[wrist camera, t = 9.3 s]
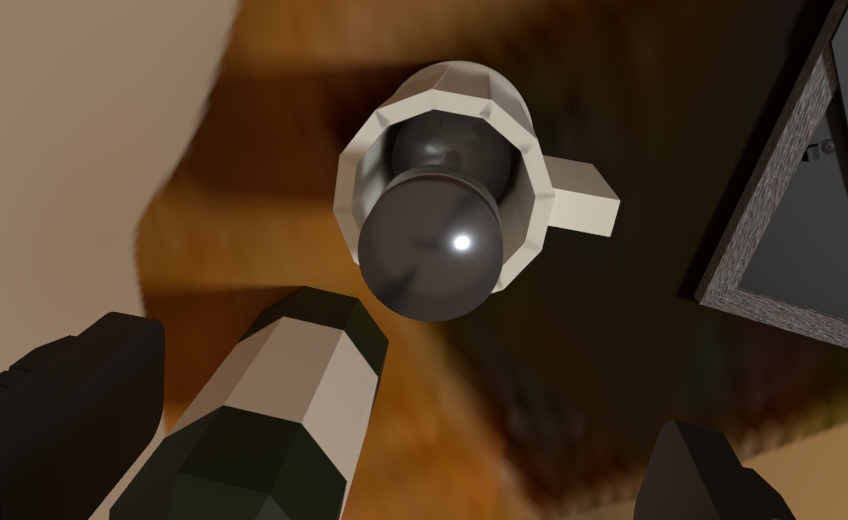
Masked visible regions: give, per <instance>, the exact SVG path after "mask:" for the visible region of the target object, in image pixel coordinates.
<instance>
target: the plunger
mask: <svg viewBox="0 0 848 520" xmlns="http://www.w3.org/2000/svg"><path fill="white" fill-rule="evenodd" d="M511 159H512V157H511V149H510V144H509V140H508V139H507V138H505V137H504V136H503V135H502V134H501V133H500V132H498V131H497V130H496V129H495V128H494V127H493V126H492V125H490V124H489V123H488V122H487V121H486V120H485V119H484V118H479V117H474V116H468V115H463V114H457V113H452V112H446V111H441V110H436V109H432V110H430V111H427V112H424V113H422V114H419V115H416V116H413V117H411V118H408V120H407V121H406V122H405V123H404V125H403V126H402V128H401V129H400V131H399V133H398V135H397V137H396V140H395V143H394V147H393V153H392V167H393V172H394V176H395V179H393V180H392V181H391V182H390V183H389V184H388V185H387V186H386V187H385V189H384V190H383V192H382V193H381V195H380V196H379V198H378V200H377V201H376V203H375V205H374V206H373V208H372V210H371V211H370V213H369V215H368V216H367V218H366V220H365V222H364V224H363V226H362V229H361V232H360V236H359V240H358V261H359V266H360V270H361V273H362V276H363V278H364V280H365V282H366V284H367V286H368V287H369V289H370V290H371V292H372V293H373V294H374V295H375V296H376V298H377V299H378V300H379V301H381V302H382V303H383V304H384V305H385V306H387V307H388V308H389V309H391V310H392V311H394V312H396V313H398V314H400V315H402V316H405V317H407V318H411V319H415V320H419V321H427V322H438V321H446V320H450V319H455V318H457V317H460V316H463V315H465V314H467V313H469V312H470V311H472V310H473V309H475V308H476V307H478V306H479V305H480V304H481V303H482V302H483V301H485V300H486V298H487V297H488V296H489V295H490V294H491V292H492V291H493V289H494V287H495V286H496V284H497V282H498V279H499V277H500V274H501V271H502V266H503V240H502V229H501V219H500V214H499V210H498V207H497V204H496V202H495V200H496V199H497V198H498V197H499V195H500V194H501V193H502V191H503V189H504V188H505V186H506V183H507V181H508V178H509V175H510V171H511Z"/></svg>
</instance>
